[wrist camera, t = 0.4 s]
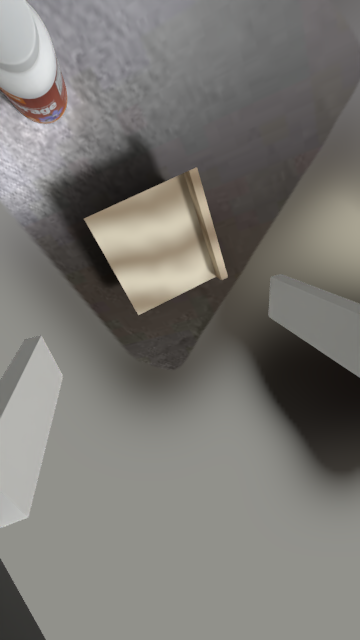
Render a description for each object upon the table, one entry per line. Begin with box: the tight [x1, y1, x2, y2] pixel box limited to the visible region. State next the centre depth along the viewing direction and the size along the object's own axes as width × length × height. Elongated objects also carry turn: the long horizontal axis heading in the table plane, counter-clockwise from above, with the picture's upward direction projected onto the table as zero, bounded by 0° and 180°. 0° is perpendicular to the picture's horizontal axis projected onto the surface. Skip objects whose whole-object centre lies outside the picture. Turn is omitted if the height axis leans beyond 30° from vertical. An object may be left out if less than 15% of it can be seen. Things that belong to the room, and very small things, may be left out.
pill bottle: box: [0, 0, 67, 124], centre depth 20 cm, size 6×6×11 cm
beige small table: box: [84, 167, 228, 315], centre depth 32 cm, size 14×14×8 cm
